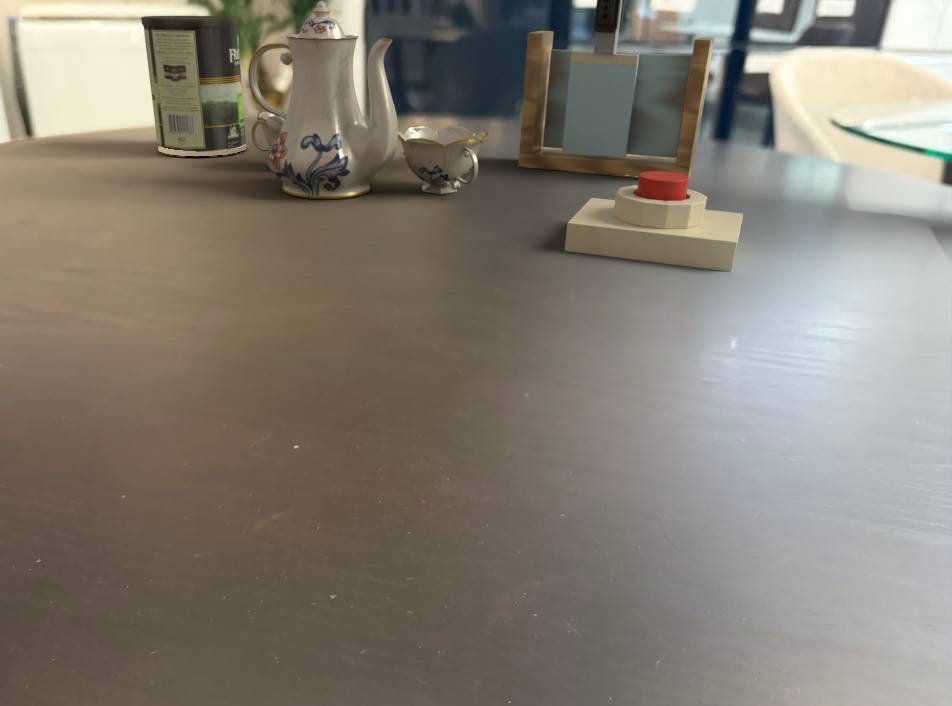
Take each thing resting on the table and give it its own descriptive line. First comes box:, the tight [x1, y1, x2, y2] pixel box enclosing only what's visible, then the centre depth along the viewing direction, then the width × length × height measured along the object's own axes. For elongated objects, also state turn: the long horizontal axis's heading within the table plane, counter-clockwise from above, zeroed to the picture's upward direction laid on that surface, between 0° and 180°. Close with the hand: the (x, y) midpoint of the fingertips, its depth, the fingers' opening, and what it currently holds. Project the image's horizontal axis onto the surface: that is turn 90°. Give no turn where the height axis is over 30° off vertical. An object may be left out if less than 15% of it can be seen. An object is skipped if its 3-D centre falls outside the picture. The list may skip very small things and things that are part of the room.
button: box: [637, 171, 690, 201], centre depth 63 cm, size 4×4×2 cm
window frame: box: [517, 30, 716, 179], centre depth 88 cm, size 18×5×14 cm, turn 68°
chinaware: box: [247, 0, 489, 200], centre depth 79 cm, size 28×17×17 cm, turn 63°
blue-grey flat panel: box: [562, 0, 639, 157], centre depth 86 cm, size 7×2×17 cm, turn 68°
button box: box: [564, 184, 744, 273], centre depth 64 cm, size 12×9×4 cm
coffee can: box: [140, 15, 247, 158], centre depth 94 cm, size 10×10×14 cm
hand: (607, 31), depth 84 cm, fingers closed on blue-grey flat panel, 2 cm apart
